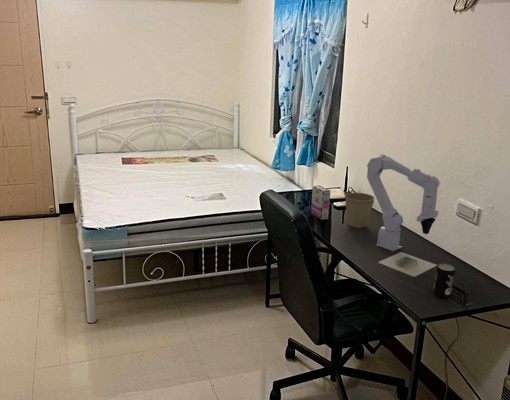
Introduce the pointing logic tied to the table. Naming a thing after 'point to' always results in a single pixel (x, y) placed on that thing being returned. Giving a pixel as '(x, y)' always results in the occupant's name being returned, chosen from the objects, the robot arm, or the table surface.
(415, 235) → the table surface
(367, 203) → the plant pot
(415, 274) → the rubber mat
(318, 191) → the candy bar box
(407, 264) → the wood tile
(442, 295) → the beverage can
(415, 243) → the table surface
